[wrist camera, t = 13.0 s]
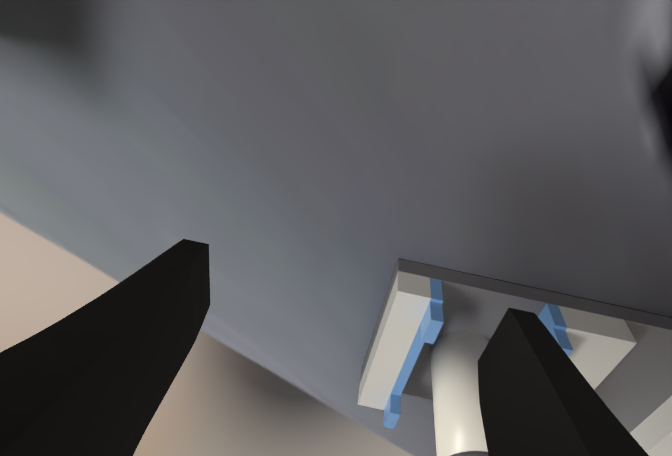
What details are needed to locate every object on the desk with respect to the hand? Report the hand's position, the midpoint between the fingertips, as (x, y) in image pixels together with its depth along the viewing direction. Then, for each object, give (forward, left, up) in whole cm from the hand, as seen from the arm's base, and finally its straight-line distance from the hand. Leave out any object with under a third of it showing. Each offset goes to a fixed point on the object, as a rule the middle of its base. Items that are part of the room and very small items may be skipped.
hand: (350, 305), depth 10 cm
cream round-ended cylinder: (-8, +11, -9) cm, 17 cm away
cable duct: (-13, +11, -10) cm, 20 cm away
